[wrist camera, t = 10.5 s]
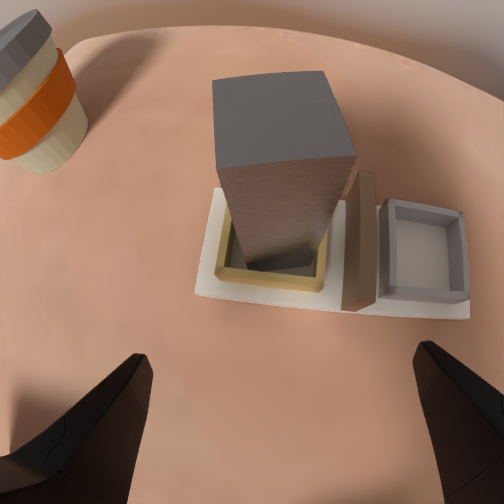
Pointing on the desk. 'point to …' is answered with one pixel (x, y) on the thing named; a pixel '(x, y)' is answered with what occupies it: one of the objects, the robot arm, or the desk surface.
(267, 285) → the board
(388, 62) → the desk surface
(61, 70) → the reusable coffee cup
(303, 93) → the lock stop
